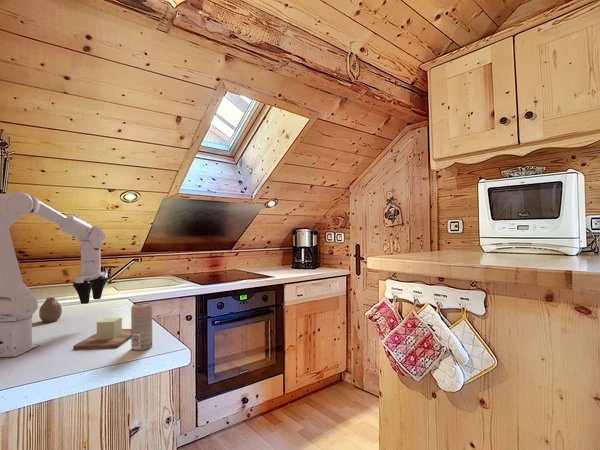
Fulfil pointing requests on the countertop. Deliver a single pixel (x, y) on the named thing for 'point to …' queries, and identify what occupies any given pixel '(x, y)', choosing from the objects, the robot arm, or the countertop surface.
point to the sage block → (109, 328)
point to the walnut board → (104, 341)
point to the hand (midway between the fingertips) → (91, 301)
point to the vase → (50, 310)
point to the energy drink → (141, 326)
